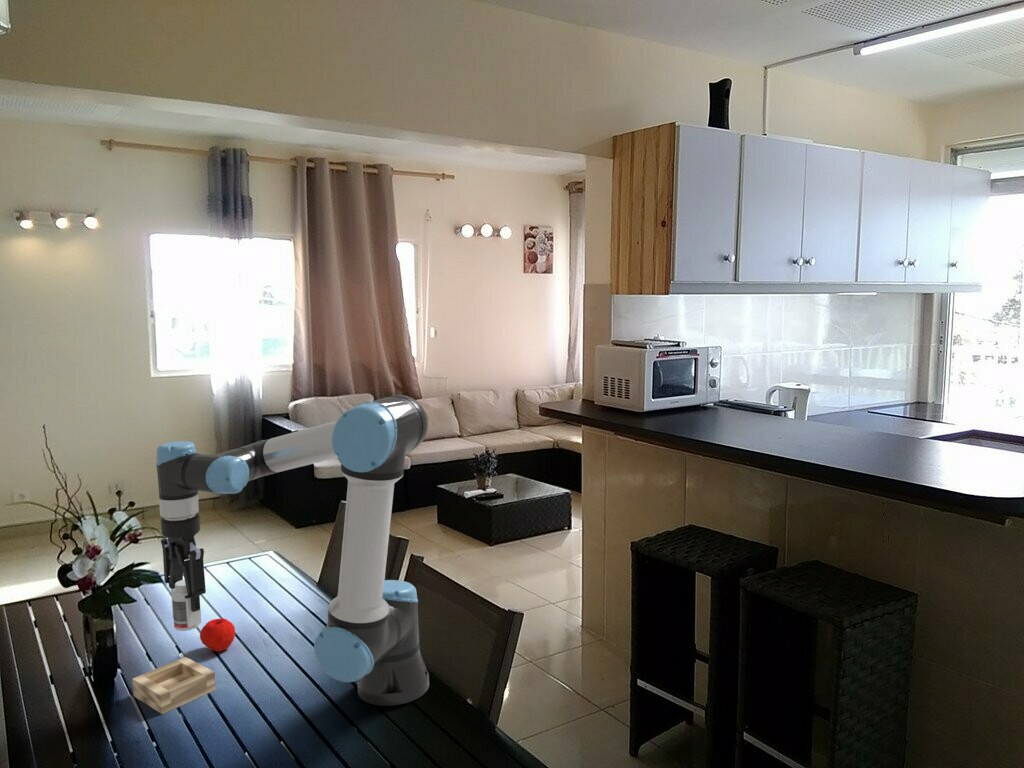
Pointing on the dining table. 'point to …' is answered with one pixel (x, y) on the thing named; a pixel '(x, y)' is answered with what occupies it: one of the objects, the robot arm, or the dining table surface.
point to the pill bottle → (180, 607)
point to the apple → (218, 634)
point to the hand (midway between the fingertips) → (187, 620)
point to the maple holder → (173, 684)
